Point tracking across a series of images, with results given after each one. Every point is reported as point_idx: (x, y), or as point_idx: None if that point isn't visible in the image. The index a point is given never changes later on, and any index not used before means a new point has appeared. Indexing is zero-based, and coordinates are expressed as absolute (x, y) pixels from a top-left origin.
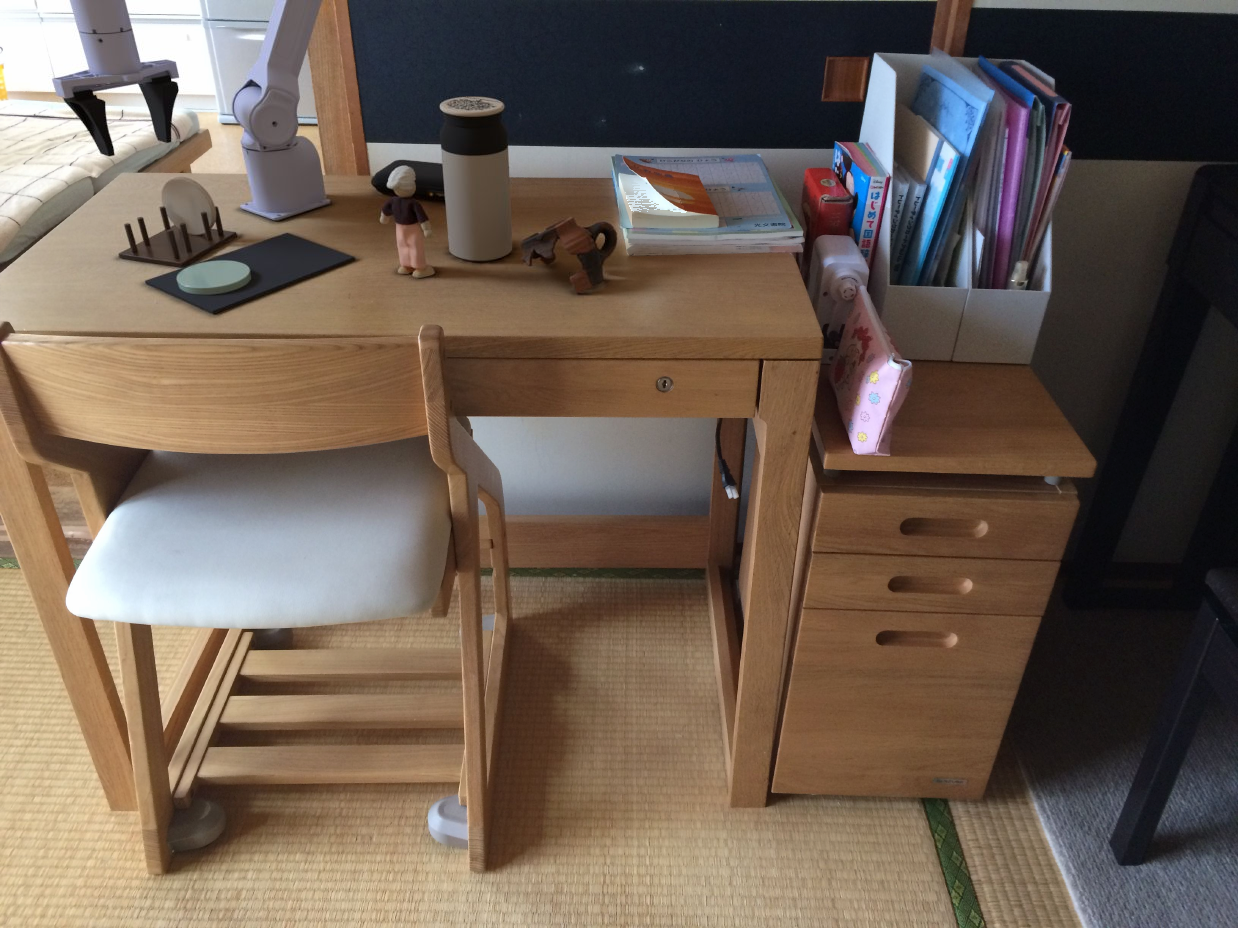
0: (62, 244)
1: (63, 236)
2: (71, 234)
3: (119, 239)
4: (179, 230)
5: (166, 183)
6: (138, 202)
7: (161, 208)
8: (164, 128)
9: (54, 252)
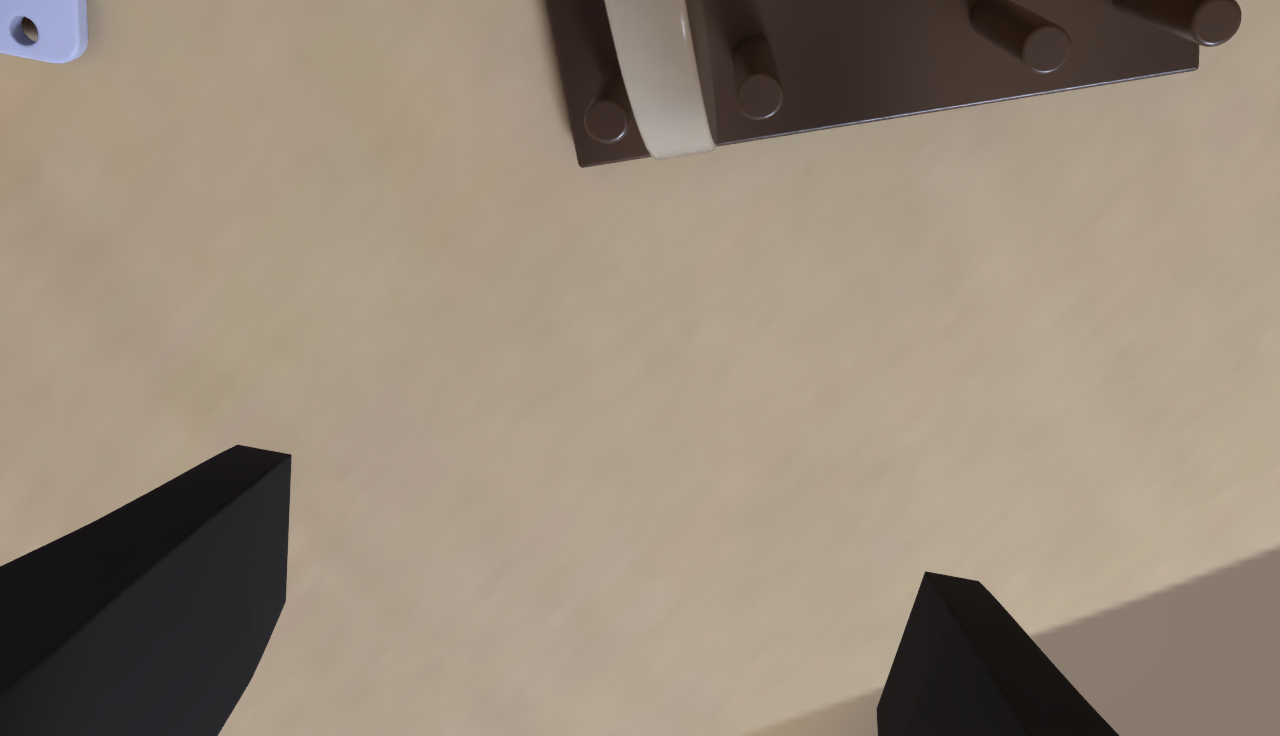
0: (1098, 528)
1: None
2: None
3: (904, 325)
4: None
5: (698, 80)
6: (407, 661)
7: (780, 84)
8: (210, 543)
9: (1219, 474)
